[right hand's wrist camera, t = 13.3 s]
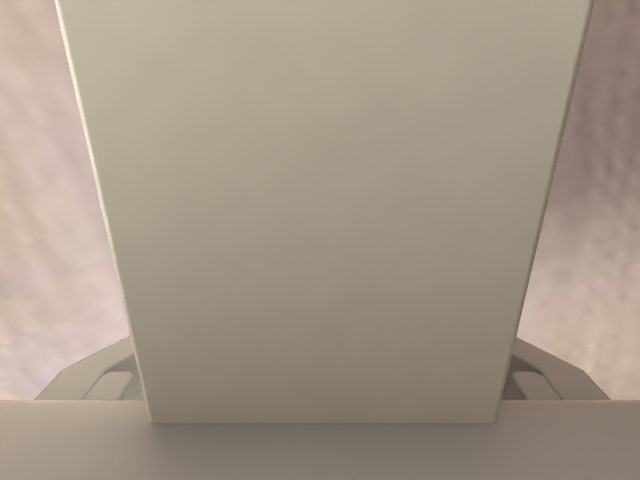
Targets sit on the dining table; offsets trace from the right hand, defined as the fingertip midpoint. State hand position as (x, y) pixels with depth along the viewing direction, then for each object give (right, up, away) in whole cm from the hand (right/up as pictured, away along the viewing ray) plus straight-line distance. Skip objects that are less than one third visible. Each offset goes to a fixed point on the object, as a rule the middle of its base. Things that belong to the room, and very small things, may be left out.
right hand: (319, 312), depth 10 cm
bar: (0, +8, 0) cm, 8 cm away
